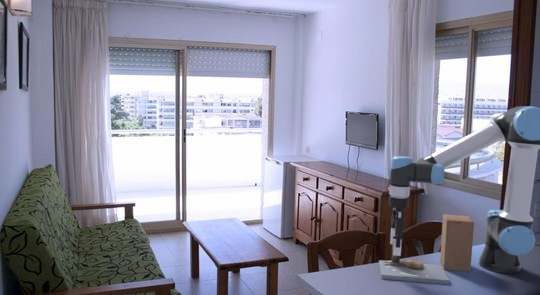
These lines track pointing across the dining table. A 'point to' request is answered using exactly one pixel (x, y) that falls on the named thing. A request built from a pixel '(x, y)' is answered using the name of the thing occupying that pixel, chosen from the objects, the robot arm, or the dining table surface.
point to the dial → (408, 263)
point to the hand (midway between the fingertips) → (395, 249)
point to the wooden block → (456, 242)
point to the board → (414, 273)
